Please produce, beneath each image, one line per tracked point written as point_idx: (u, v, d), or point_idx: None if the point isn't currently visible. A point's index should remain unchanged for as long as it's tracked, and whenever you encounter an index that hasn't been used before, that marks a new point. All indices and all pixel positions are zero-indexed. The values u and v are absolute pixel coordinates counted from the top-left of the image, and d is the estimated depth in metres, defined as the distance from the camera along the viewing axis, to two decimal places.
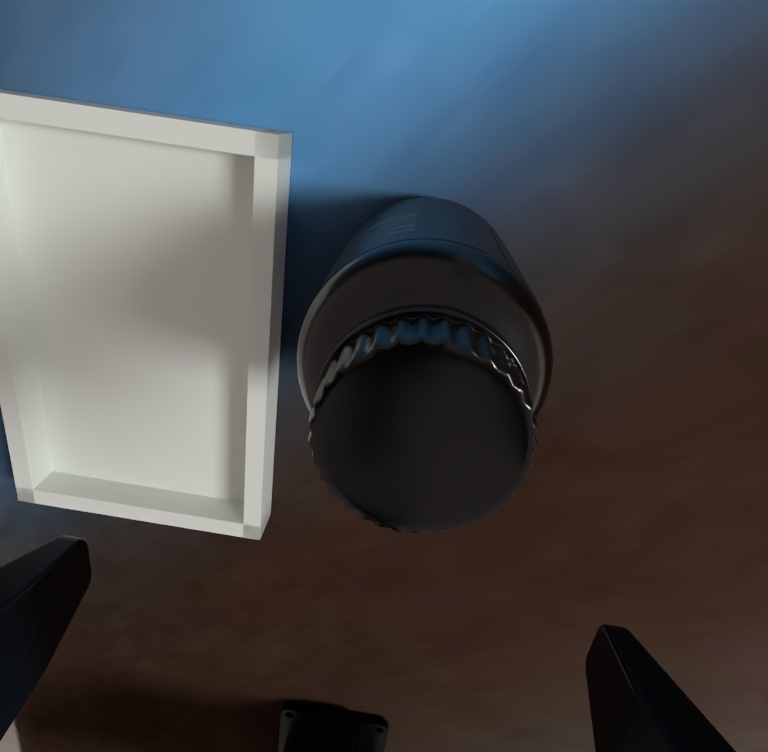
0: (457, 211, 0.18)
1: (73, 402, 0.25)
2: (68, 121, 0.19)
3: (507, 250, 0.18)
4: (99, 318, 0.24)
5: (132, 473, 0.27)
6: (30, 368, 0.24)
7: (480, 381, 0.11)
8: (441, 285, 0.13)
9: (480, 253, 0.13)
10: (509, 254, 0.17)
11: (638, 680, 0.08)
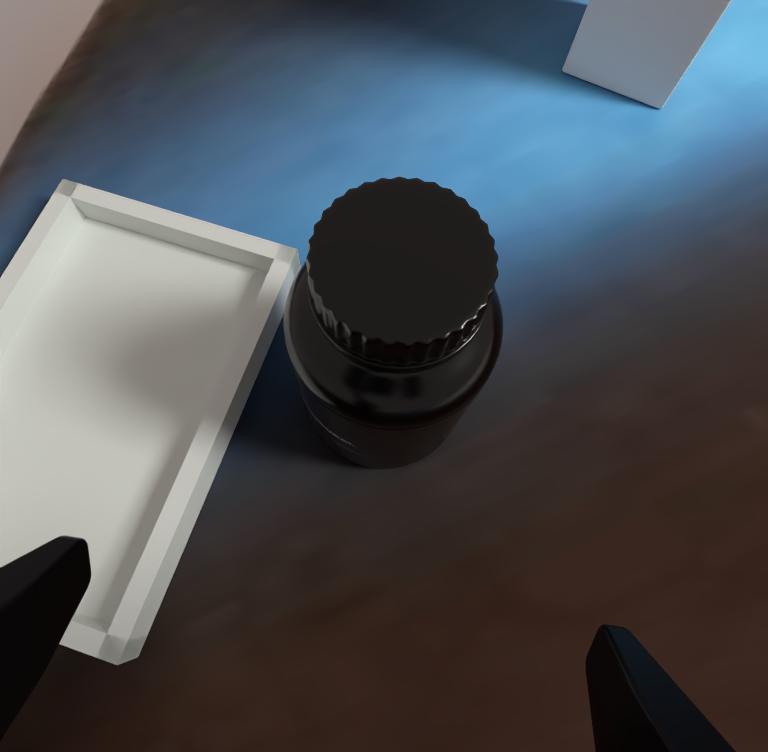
0: None
1: None
2: (143, 214, 0.25)
3: None
4: (68, 374, 0.24)
5: None
6: None
7: (456, 212, 0.14)
8: None
9: None
10: None
11: (638, 680, 0.08)
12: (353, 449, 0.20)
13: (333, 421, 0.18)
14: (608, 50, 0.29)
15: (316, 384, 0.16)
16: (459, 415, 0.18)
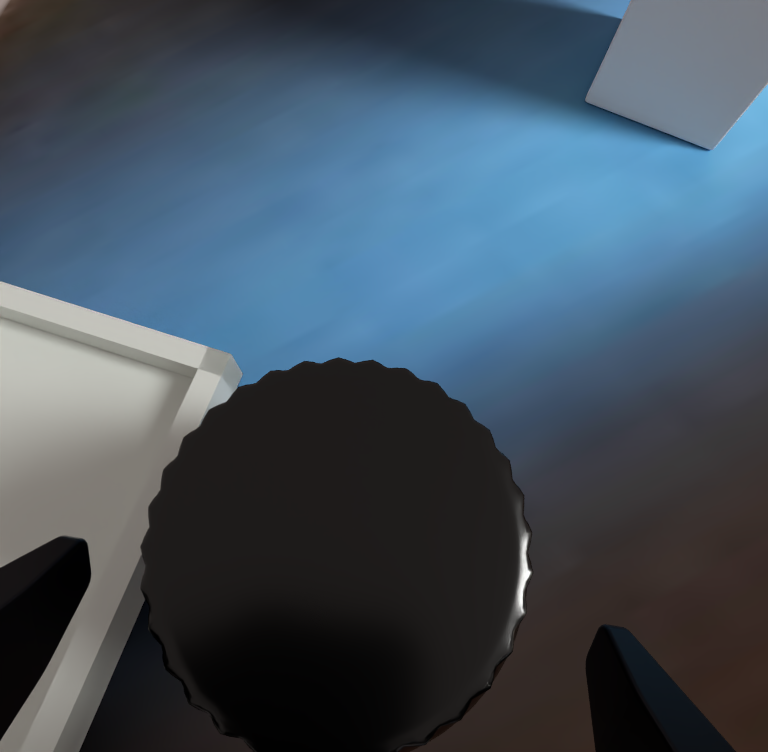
0: None
1: None
2: (19, 305, 0.18)
3: None
4: None
5: None
6: None
7: (447, 434, 0.07)
8: None
9: None
10: None
11: (638, 680, 0.08)
12: None
13: None
14: (647, 76, 0.23)
15: None
16: None
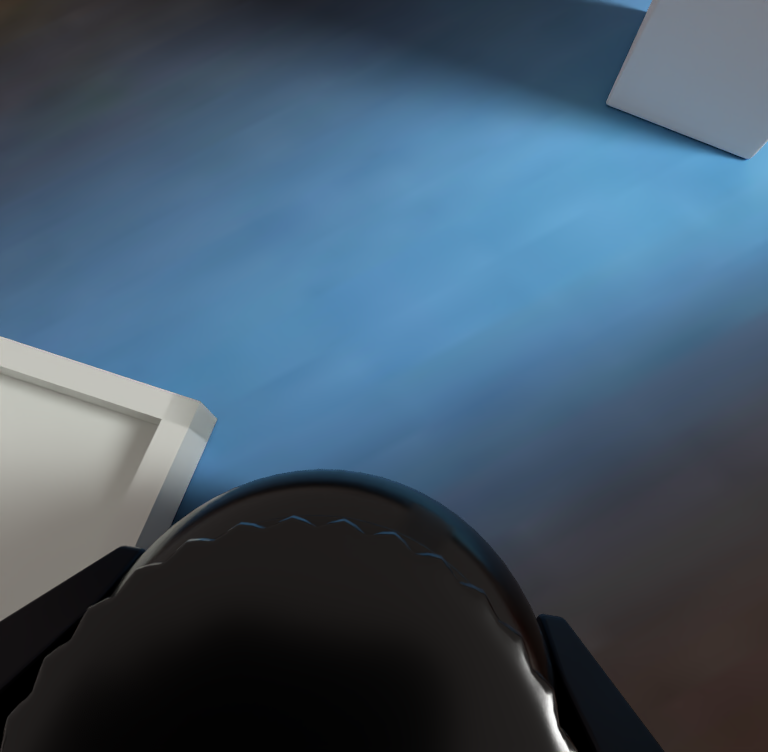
0: None
1: None
2: None
3: None
4: None
5: None
6: None
7: (458, 648, 0.05)
8: (380, 521, 0.08)
9: (442, 505, 0.09)
10: None
11: (566, 668, 0.08)
12: None
13: None
14: (679, 76, 0.20)
15: None
16: None
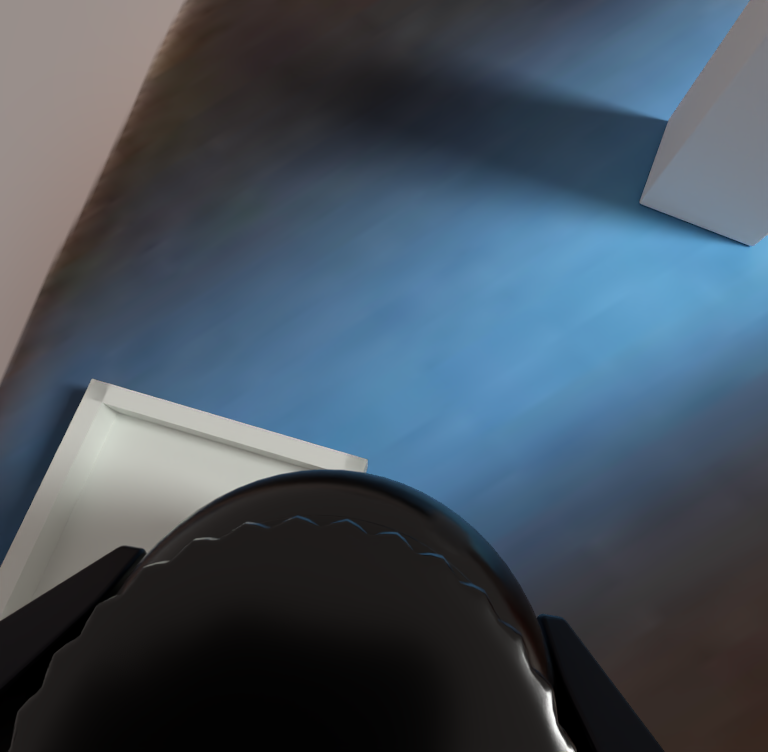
0: None
1: None
2: (188, 422, 0.22)
3: None
4: None
5: None
6: None
7: (458, 647, 0.05)
8: (383, 521, 0.08)
9: None
10: None
11: (566, 668, 0.08)
12: None
13: None
14: (698, 190, 0.26)
15: None
16: None
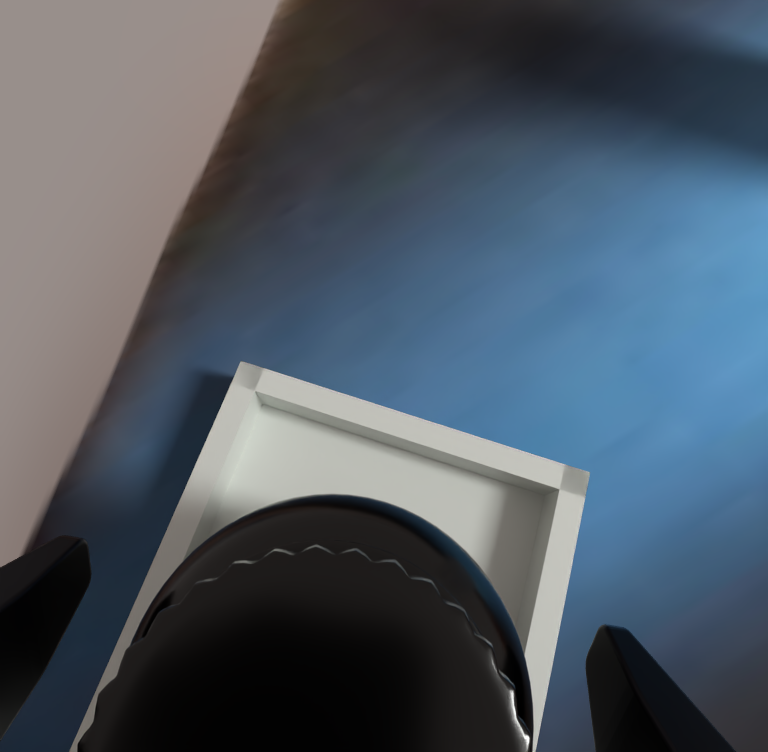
0: None
1: None
2: (362, 418, 0.18)
3: None
4: None
5: None
6: None
7: (441, 653, 0.06)
8: (384, 542, 0.09)
9: (438, 528, 0.10)
10: None
11: (638, 680, 0.08)
12: None
13: None
14: None
15: None
16: None
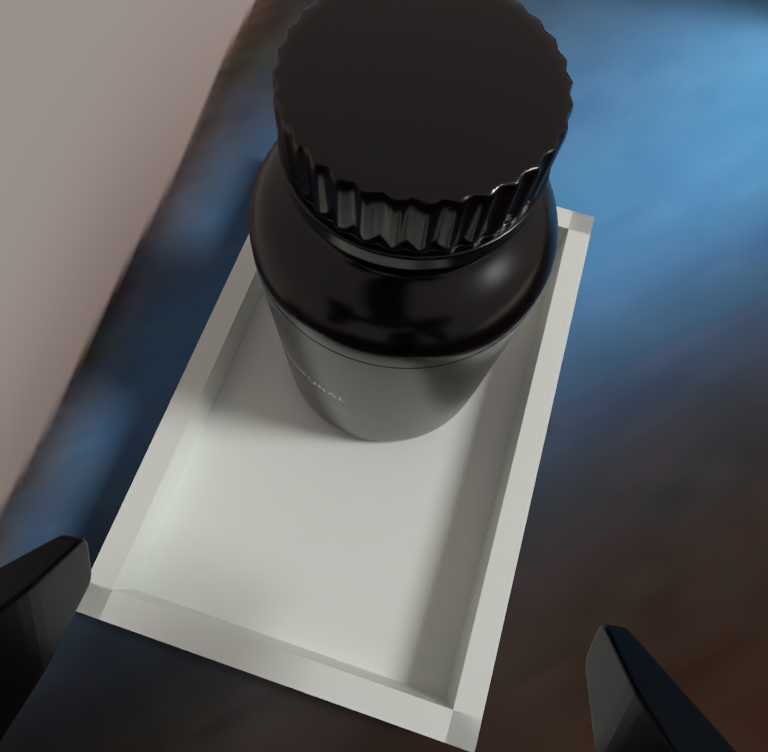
0: None
1: (231, 475, 0.18)
2: None
3: None
4: None
5: (264, 609, 0.17)
6: (205, 412, 0.19)
7: (507, 18, 0.09)
8: None
9: None
10: None
11: (638, 680, 0.08)
12: (345, 409, 0.15)
13: (316, 361, 0.13)
14: None
15: (289, 296, 0.11)
16: (491, 359, 0.13)
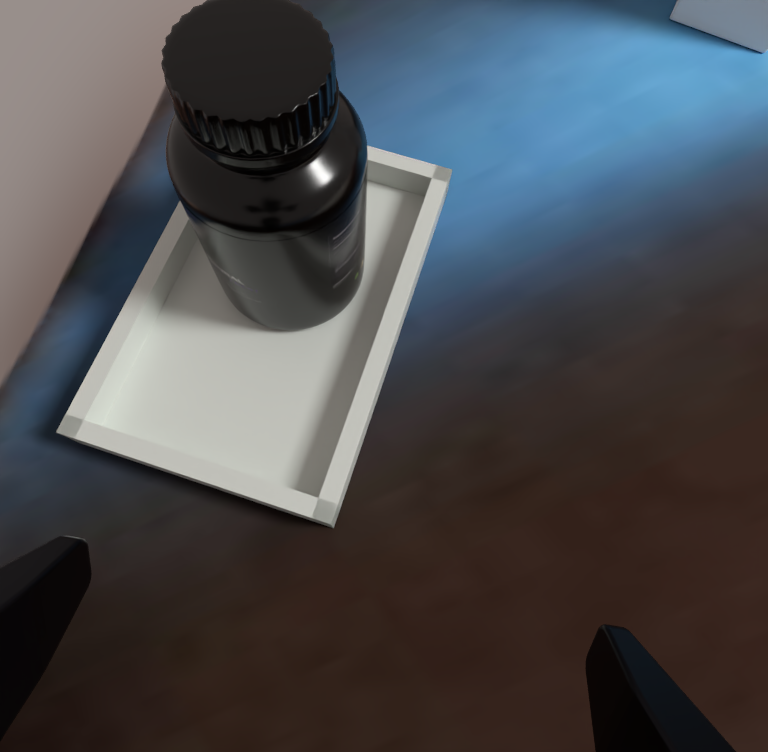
0: None
1: (174, 354, 0.25)
2: None
3: None
4: None
5: (194, 443, 0.24)
6: (156, 308, 0.25)
7: (300, 21, 0.16)
8: None
9: None
10: None
11: (638, 680, 0.08)
12: (246, 292, 0.22)
13: (214, 244, 0.19)
14: None
15: (186, 192, 0.18)
16: (331, 246, 0.20)
